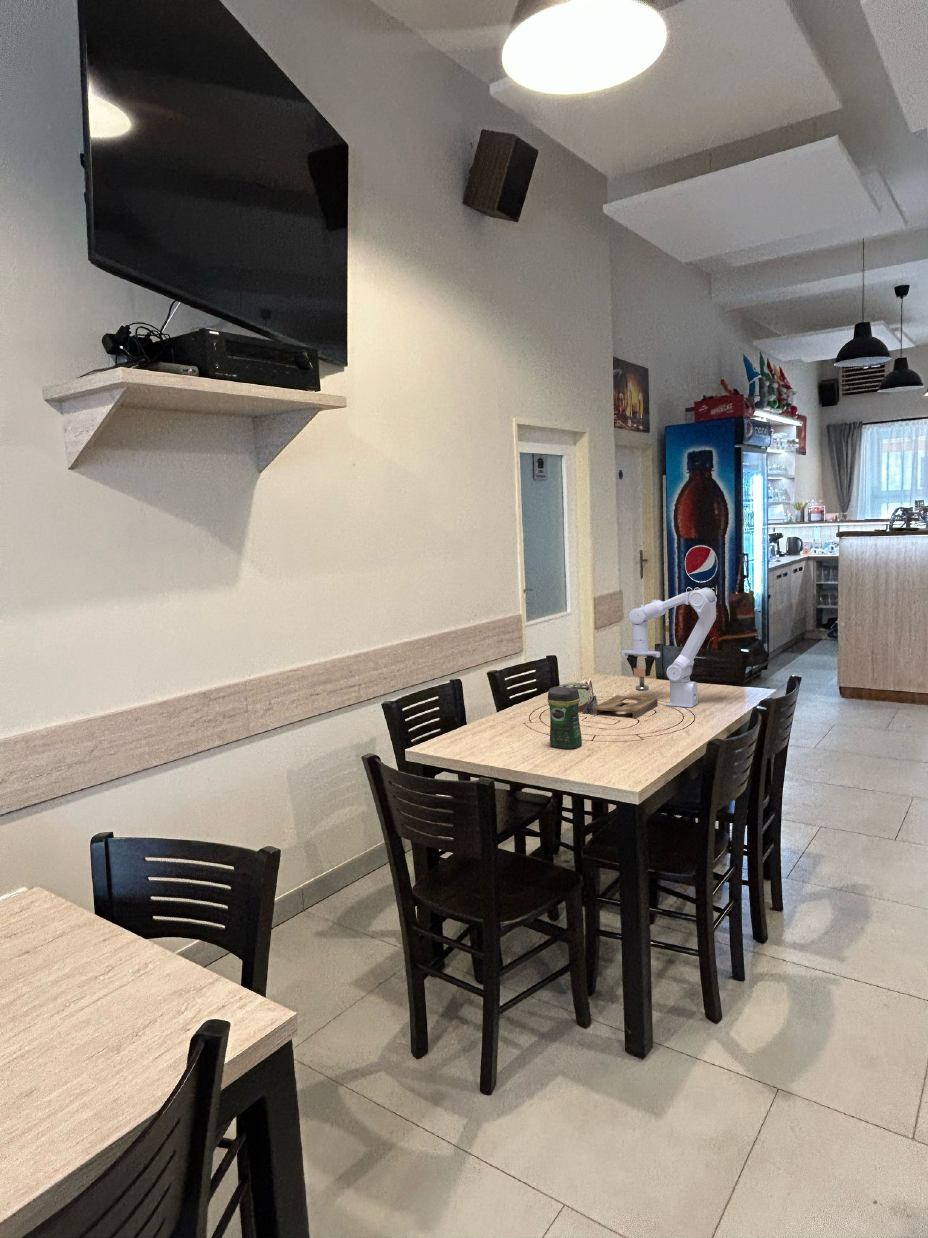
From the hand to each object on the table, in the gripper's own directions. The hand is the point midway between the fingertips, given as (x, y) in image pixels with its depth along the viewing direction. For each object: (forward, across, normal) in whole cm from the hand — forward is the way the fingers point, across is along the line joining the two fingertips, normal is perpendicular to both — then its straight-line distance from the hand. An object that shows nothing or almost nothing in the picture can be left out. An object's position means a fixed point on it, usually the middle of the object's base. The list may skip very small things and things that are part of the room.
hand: (641, 675), depth 299 cm
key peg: (+6, 0, 0) cm, 6 cm away
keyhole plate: (+10, 0, +16) cm, 19 cm away
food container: (+10, +17, +23) cm, 30 cm away
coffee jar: (+10, -1, +65) cm, 66 cm away
